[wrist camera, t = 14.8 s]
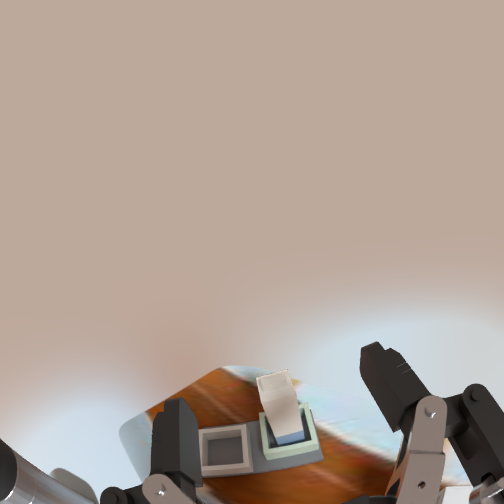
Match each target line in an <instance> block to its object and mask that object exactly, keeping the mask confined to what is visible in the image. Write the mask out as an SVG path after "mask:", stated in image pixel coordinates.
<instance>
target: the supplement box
mask: <svg viewBox="0 0 504 504" xmlns="http://www.w3.org/2000/svg"><path fill="white" fill-rule="evenodd" d="M472 490H473V486H472V485H464V486H450V487H445V488H444V489H443V490H441V491H440V492H439V493H438V497H437V500H436V504H469V496H470V493H471V491H472Z"/></svg>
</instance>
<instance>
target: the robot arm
mask: <svg viewBox="0 0 504 504" xmlns="http://www.w3.org/2000/svg"><path fill="white" fill-rule="evenodd" d="M360 373H361V377H362V379H363V381H364V382H365V384H366V386H367V388H368V389H369V391H370V392H371V395H372V396H373V398H374V400H375V401H376V403H377V405H378V407H379V408H380V410H381V412H382V414H383V415H384V417H385V419H386V420H387V422H388V424H389V426H390V427H391V429H392V431H393V433H394V432H396V431H398V430H400V429H401V431H402V433H403V437H402V441H401V445H400V449H399V453H398V457H397V461H396V465H395V468H394V471H393V474H392V476H391V478H390V481H389V483H388V486H387V489H386V492H385V495H384V496H370V497H367V495H366V494H365V495H362V496H360V497H358V498H355V499H352V500H350V501H347V502H345V503H342V504H436V500H437V497H438V493H439V488H440V484H441V480H442V475H443V470H444V464H445V453H443V444H444V438H448V440H449V442H450V443H451V445H452V447H453V449H454V451H455V453H456V454H457V456H458V458H459V460H460V462H461V464H462V466H463V468H464V470H465V472H466V474H467V476H468V478H469V480H470V482H471V484H472V486H473V490H472V491H471V493H470V496H469V504H504V412H503V411H502V410H501V408H500V407H499V405H498V404H497V402H496V401H495V400H494V398H493V397H492V396H491V394H490V393H489V392H488V390H487V389H486V387H484V386H483V385H481V384H471V385H470V386H468V387H467V388H466V389H465V390H464V392H463V393H462V394H459V395H455V396H451V397H448V398H440V397H438V396H434V395H432V394H431V393H430V392H429V391H428V390H427V389H426V387H425V386H424V384H423V383H422V382H421V380H420V379H419V378H418V376H417V375H416V374H415V372H414V371H413V370H412V369H411V367H410V366H409V365H408V363H406V361H405V359H404V358H403V357H402V355H401V354H400V353H398V352H397V351H395V350H393V349H392V348H389V349H387V350H384V348H383V347H382V346H381V345H380V343H379V342H374V343H372V344H369V345H367V346H364V347H362V348H361V358H360ZM152 433H153V434H152V447H151V471H150V475H149V477H148V478H146V479H145V481H144V482H143V484H141V485H139V486H136V487H133V488H129V489H125V490H122V489H119V488H117V487H109V488H107V489H105V490H104V491H103V492H102V494H101V497H100V504H205V503H204V502H203V501H202V500H201V499H200V498H198V497H197V496H196V490H195V487H203V482H202V471H201V459H200V446H199V431H198V422H197V419H196V416H195V414H194V413H193V411H192V410H191V409H190V407H189V406H188V404H187V403H186V402H185V400H184V399H183V398H182V397H181V398H175V399H168V400H165V403H164V412H158V413H157V415H156V417H155V419H154V421H153V429H152ZM0 504H96V503H94V502H93V501H91V500H89V499H87V498H86V497H84V496H82V495H80V494H78V493H76V492H75V491H73V490H71V489H70V488H68V487H66V486H64V485H63V484H61V483H59V482H58V481H56V480H55V479H53V478H52V477H50V476H48V475H47V474H45V473H44V472H42V471H41V470H40V469H38V468H37V467H35V466H34V465H33V464H31V463H30V462H28V461H27V460H26V459H24V458H23V457H22V456H20V455H19V454H18V453H17V452H15V451H14V450H13V449H12V448H10V447H9V446H8V445H7V444H6V443H4V442H3V441H2V440H1V439H0Z"/></svg>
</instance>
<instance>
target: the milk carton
mask: <svg viewBox="0 0 504 504" xmlns="http://www.w3.org/2000/svg"><path fill="white" fill-rule="evenodd" d="M256 381H257V385H258V390H259V394H260V399H261V403H262V406H263V408H264V411H265V413H266V416H267V418H268V421H269V423H270V426H271V428H272V431H273V433H274V436H275V438H276V441H277V443H278V446H279V447H283V446H288V445H293V444H297V443H302V442H305V437H304V431H303V426H302V421H301V416H300V411H299V406H298V401H297V396H296V392H295V389H294V386H293V383H292V380H291V377H290V374H289V371H288V369H286V370H282V371H279V372H275V373H272V374H268V375H264V376H260V377H256Z"/></svg>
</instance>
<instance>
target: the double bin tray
mask: <svg viewBox="0 0 504 504" xmlns="http://www.w3.org/2000/svg"><path fill="white" fill-rule="evenodd" d="M298 406H299V411H300V416H301V421H302V426H303V431H304V437H305V442H302V443H297V444H293V445H288V446H283V447H279V446H278V443H277V441H276V438H275V436H274V433H273V431H272V428H271V426H270V423H269V421H268V418H267V416H266V413H265V412H261V413H259V418H260V420H258V421H252V422H246V423H239V424H232V425H224V426H215V427H205V428H202V429H200V430H198V431H199V446H200V459H201V471H202V478H211V477H227V476H239V475H248V474H256V473H263V472H270V471H276V470H282V469H287V468H292V467H297V466H302V465H306V464H311V463H315V462H319V461H323V460H324V458H323V454H322V450H321V446H320V442H319V439H318V435H317V431H316V427H315V424H314V420H313V416H312V412H311V409H309V405H308V402H307V403H303V404H299V405H298Z"/></svg>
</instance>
